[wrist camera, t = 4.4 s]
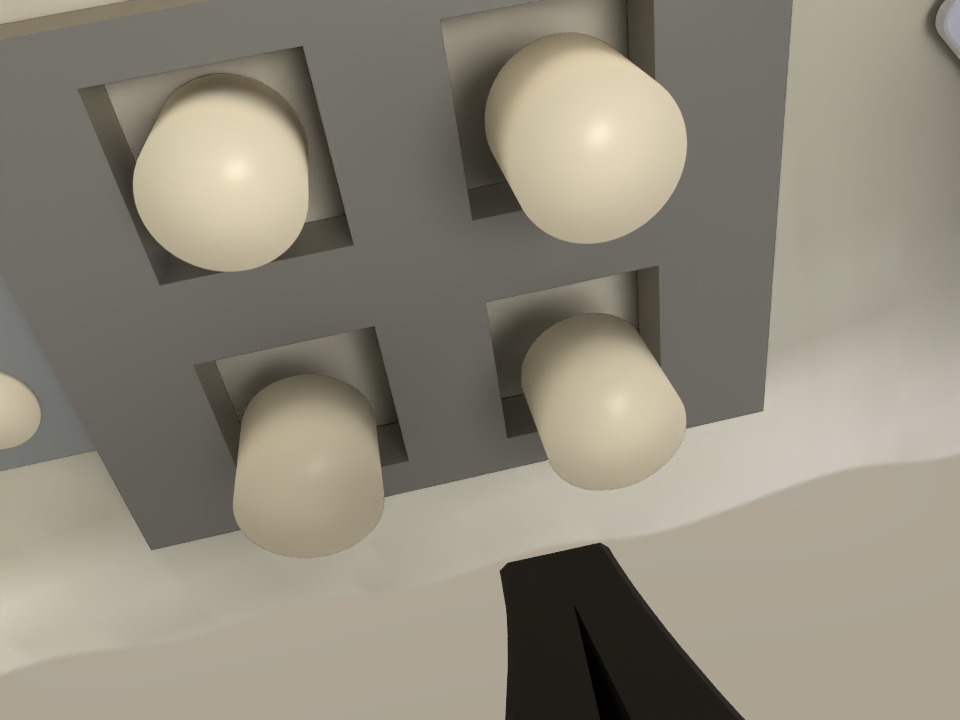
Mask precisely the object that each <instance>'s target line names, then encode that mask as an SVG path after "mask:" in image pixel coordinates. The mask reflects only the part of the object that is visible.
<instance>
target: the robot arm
mask: <svg viewBox="0 0 960 720" xmlns="http://www.w3.org/2000/svg"><path fill="white" fill-rule="evenodd" d="M936 29H937V31H938V33H939V35H940V36H941V37H942V38H943V40H944V41H945V42H946V43H947V45H948V46H949V47H950V48H951V49H952V51H953V52H954V53H955V54H956V56H957V57H958V58H959V59H960V0H945V1H944V2H943V4H942V5H941V6H940V8H939V10H938V13H937V16H936ZM500 575H501V580H502V587H503V592H504V599H505V605H506V613H507V629H508V630H507V631H508V675H507V697H506V718H505V720H745V719H744V718H743V717H742V716H741V715H740V714H739V713H738V712H737V711H736V710H735V708H734V707H733V706H732V705H731V704H730V703H729V702H728V701H727V700H726V699H725V697H724V696H723V695H722V694H721V693H720V692H719V691H718V690H717V689H716V687H715V686H714V685H713V684H712V683H711V681H710V680H709V679H708V678H707V677H706V676H705V674H703V672H702V671H701V670H700V669H699V668H698V666H697V665H696V664H695V663H694V662H693V660H692V659H691V658H690V657H689V656H688V655H687V653H686V652H685V651H684V650H683V649H682V648H681V646H680V645H679V644H678V643H677V641H676V640H675V639H674V638H673V637H672V635H671V634H670V633H669V632H668V630H666V628H665V627H664V625H663V624H662V623H661V622H660V620H659V619H658V617H657V616H656V615H655V614H654V612H653V611H652V610H651V608H650V607H649V606H648V605H647V603H646V602H645V600H644V599H643V598H642V596H641V595H640V594H639V592H638V591H637V590H636V588H635V587H634V586H633V584H632V583H631V581H630V580H629V579H628V577H627V575H626V574H625V573H624V571H623V569H622V568H621V566H620V565H619V564H618V562H617V560H616V559H615V557H614V556H613V554H612V552H611V551H610V549H609V548H608V547H607V546H605V545H603V544H601V543H597V544H592V545H587V546H583V547H579V548H574V549H569V550H565V551H560V552H555V553H551V554H546V555H542V556H537V557H532V558H528V559H523V560H519V561H514V562H510V563H507V564H506V565H505V566H504V567H503V568H502V569H501V570H500Z"/></svg>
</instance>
